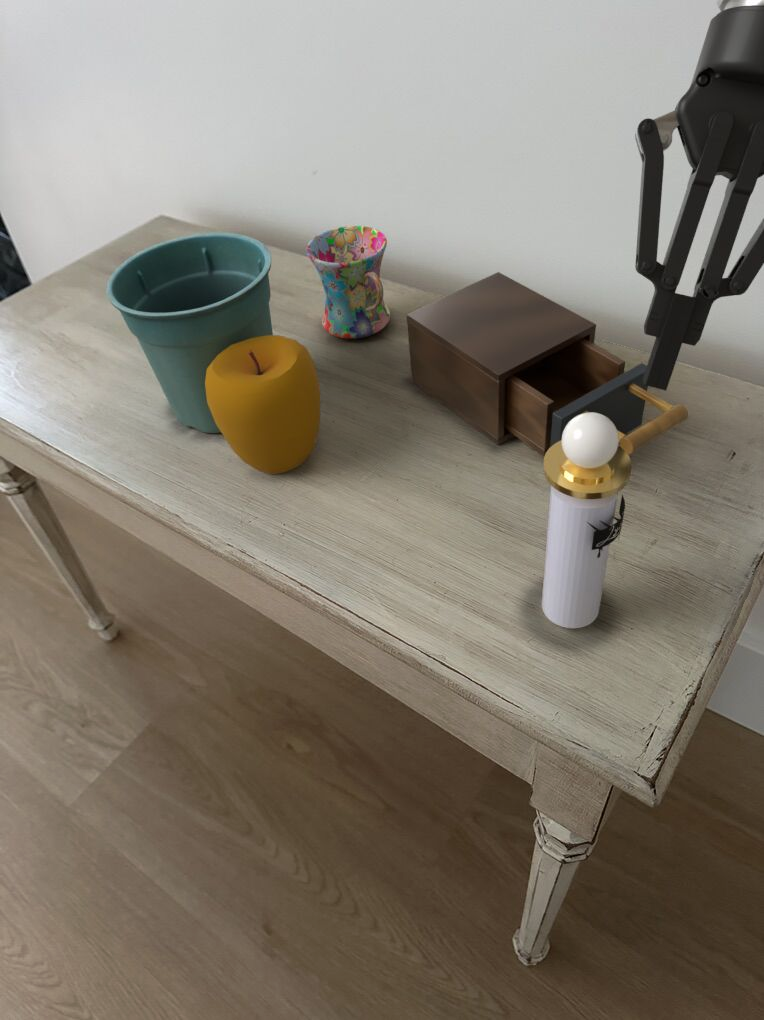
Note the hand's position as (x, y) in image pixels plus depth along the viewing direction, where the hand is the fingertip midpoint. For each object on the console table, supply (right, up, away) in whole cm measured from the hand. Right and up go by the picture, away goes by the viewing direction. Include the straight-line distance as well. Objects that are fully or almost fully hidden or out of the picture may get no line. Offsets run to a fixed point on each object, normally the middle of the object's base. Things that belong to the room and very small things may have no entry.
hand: (653, 385), depth 57 cm
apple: (-30, -3, +24) cm, 39 cm away
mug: (-22, +13, +40) cm, 48 cm away
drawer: (-1, -1, +21) cm, 21 cm away
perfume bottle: (-4, -17, +7) cm, 19 cm away
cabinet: (-7, +4, +29) cm, 30 cm away
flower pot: (-37, +3, +32) cm, 49 cm away
